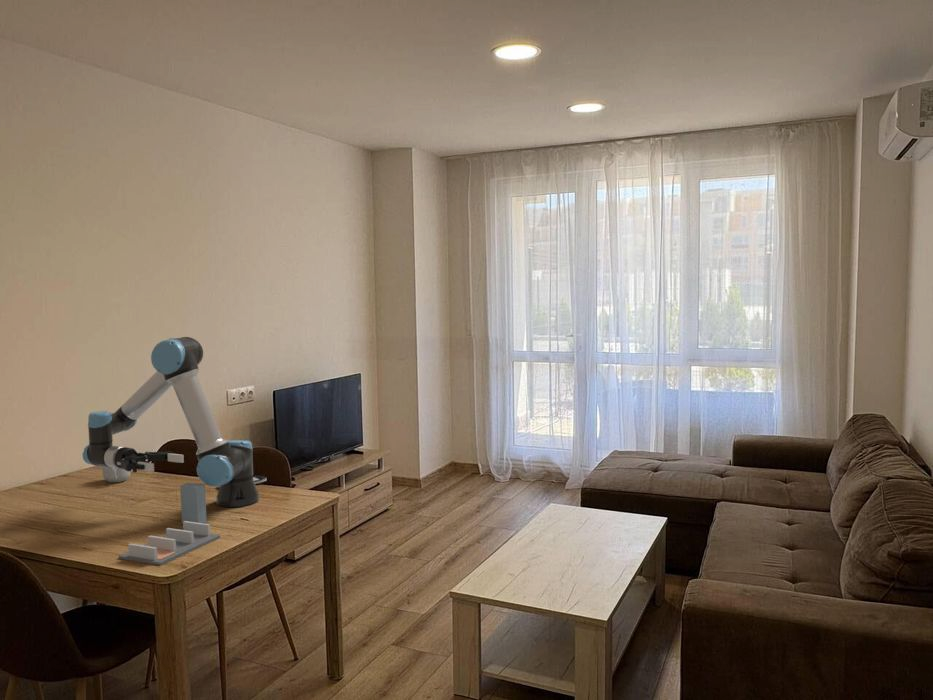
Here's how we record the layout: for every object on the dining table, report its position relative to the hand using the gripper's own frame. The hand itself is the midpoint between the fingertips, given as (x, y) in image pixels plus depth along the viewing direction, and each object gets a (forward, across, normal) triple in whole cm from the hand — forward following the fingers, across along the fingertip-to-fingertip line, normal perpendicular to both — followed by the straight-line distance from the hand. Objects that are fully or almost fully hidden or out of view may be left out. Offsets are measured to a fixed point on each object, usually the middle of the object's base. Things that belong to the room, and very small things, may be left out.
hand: (168, 463), depth 251 cm
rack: (+21, +22, -20) cm, 36 cm away
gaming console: (-6, -45, -20) cm, 50 cm away
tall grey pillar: (+10, 0, -20) cm, 22 cm away
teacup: (-59, -31, -20) cm, 70 cm away
